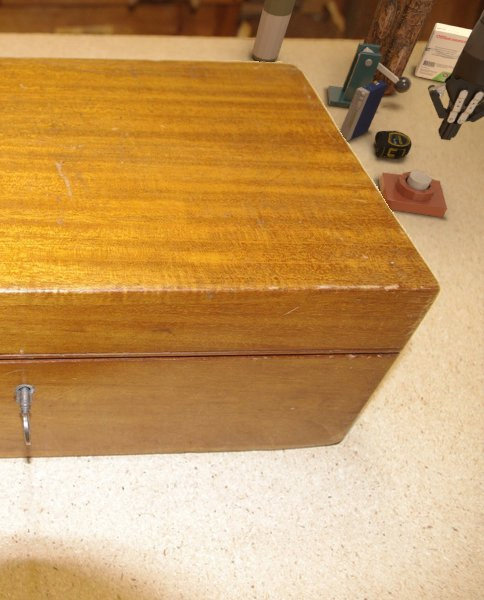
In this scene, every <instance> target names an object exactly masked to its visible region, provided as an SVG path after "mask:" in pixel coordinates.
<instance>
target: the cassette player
mask: <svg viewBox="0 0 484 600" xmlns="http://www.w3.org/2000/svg"><path fill="white" fill-rule="evenodd" d="M387 85H388V84H386V83H385V82H383V81H381V80H377V81H374V82H373V83H370V84H368V85H365V86H363V87H360V88H358V89H356V92H355V94H354V97H353V99H352V102H351V105H350V107H349V108H348V109H347V113H346V115H345V117H344V120H343V122H342V124H341V127H340V130H339V132H341V133H342V135H343V137H344V138H345V139H346V142H349V141H351V140H353V139H355V138H358V137H359V136H361V135H364V134H366V133H368V132H369V130H370V127H371V125H372V122H373V120H374V118H375V116H376V113H377V111H378V108H379V107H380V104H381V102H382V99H383V97H384V96H383V95H384V92H385V90H386V88H387Z"/></svg>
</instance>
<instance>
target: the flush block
mask: <svg viewBox="0 0 484 600" xmlns="http://www.w3.org/2000/svg"><path fill="white" fill-rule="evenodd" d="M411 172H412V171H406V172H402V173H401V174H396V173H390V172H383V171H382V173H381V175H380V177H379V179H378V184H379V191H380V195H381V194H382V196H383V198H384V199H385V201H386V203H387V204H388V206H389V208H390V209H389V210H393V211H399V212H406V213H412V214H419V215H425V216H431V217H438V218H443V217H444V215H445V213H446V212H447V210H448V207H447V203H446V198H445V195H444V191H443V187H442V184H441V180H438V179H432V181H431V183H430V185H429V186H428V188H427V189H426V190H418V189H415V188H412V187H410V186H409V185H408V184H407V182H406V181H407V179H408V177H409V175H410V173H411Z"/></svg>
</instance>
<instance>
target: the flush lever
mask: <svg viewBox="0 0 484 600" xmlns="http://www.w3.org/2000/svg"><path fill="white" fill-rule="evenodd" d="M363 52H371V53H374V52H373V51H372V50H370V49H369V48H368V47H366V48H365V49H364V50H363ZM359 55H360V54H359ZM359 55H358V56H359ZM377 69H378V70H379V71H381V72H382V73H383V74H384V75H386V76H387V77H388V78H389V79H390V80H392V81H393V82H394V84H393V88H394V90H395V93H398V94H404V93H407V92H408V91H409V90H411V87H412V81H411V79H410V78H409V77H407V76H402V77H400V78H398V77H397V76H395V75H394V74H393V73H392V72H391V71H389V70H388V69H387V68H386V67H384V66H383V65H382V64H381V63H380V62H379V64H378V67H377Z"/></svg>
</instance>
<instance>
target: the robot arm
mask: <svg viewBox="0 0 484 600" xmlns="http://www.w3.org/2000/svg"><path fill="white" fill-rule="evenodd" d="M471 30H472V32H471V34H470V36H469V38H468V40H467V42H466V44H465V46H464V48H463V50H462V52H461V54H460V56H459V58H458V60H457V62H456V65H455V67H454V69H453V71H452V73H451V74H450V75H449V76H448V77H447V78H446V79H445V81H444V82H441V83H440V84H437V85H435V84H430V85H429V86H428V87H427V90H428V94H429V97H430V100H431V103H432V104H433V107H434V110H435V112H436V114H437V118H439V119H441V120H442V122H441V123H440V124H439V127H438V130H437V131H438V136H439V137H440V140H443V141H451V140H452V139H454V138H455V137H456V136H457V135H458V133H459V131H460V129H461V127H462V125H463V124H464V123H467V122H470V123H475V122H477V121H479V120H481V119H482V118H484V10H483V11H482V13H481V15H480V17H479V19H478V20H477V21H476V23H475V25H474V27H473V28H472V29H471ZM445 91H446V94H447V96H448V105H447V107H445V106H444V104H443V102H442V98H443V97H444V95H445V94H444V92H445Z"/></svg>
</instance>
